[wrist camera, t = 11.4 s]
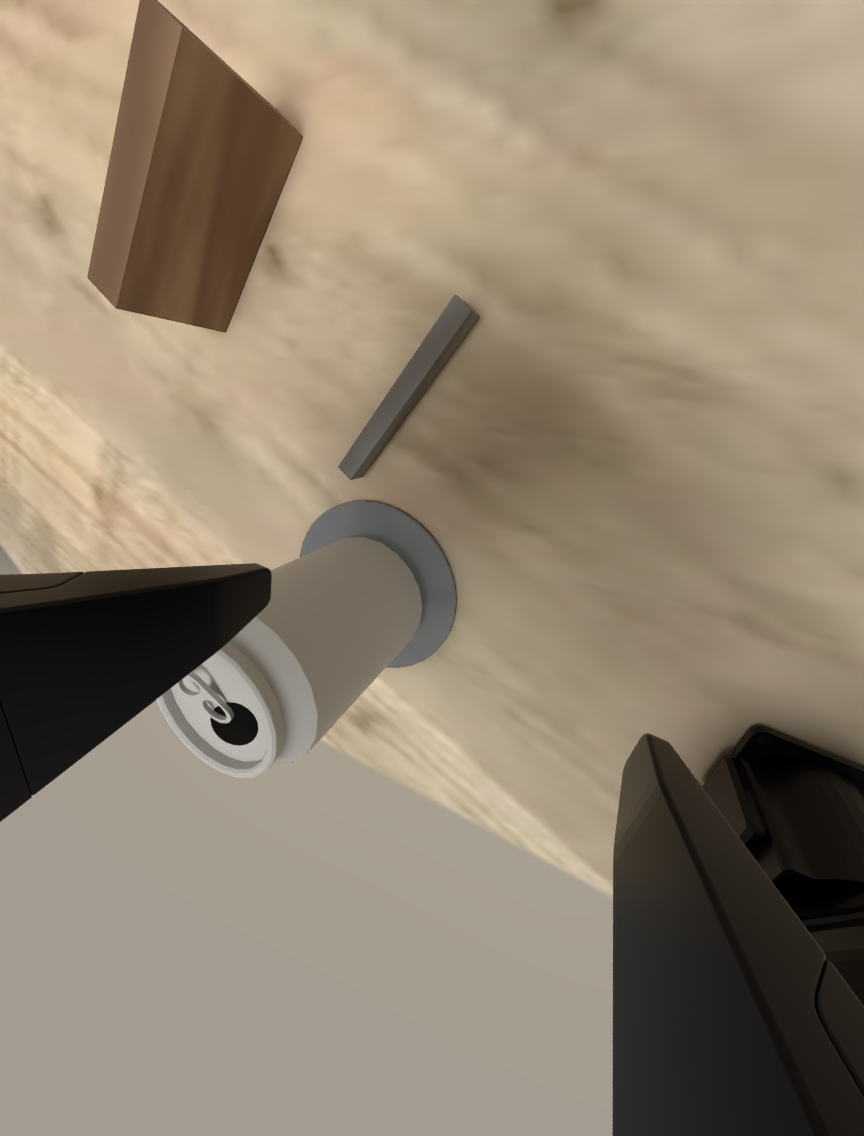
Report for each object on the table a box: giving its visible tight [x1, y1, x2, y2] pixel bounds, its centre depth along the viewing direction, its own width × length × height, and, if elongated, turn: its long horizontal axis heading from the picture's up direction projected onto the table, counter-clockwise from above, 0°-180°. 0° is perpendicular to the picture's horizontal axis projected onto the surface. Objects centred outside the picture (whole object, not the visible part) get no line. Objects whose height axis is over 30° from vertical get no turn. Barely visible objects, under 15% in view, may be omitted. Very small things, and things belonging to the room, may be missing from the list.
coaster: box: [300, 501, 456, 668], centre depth 25 cm, size 11×11×1 cm
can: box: [156, 537, 422, 778], centre depth 20 cm, size 8×8×12 cm
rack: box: [87, 0, 479, 480], centre depth 18 cm, size 14×10×6 cm
